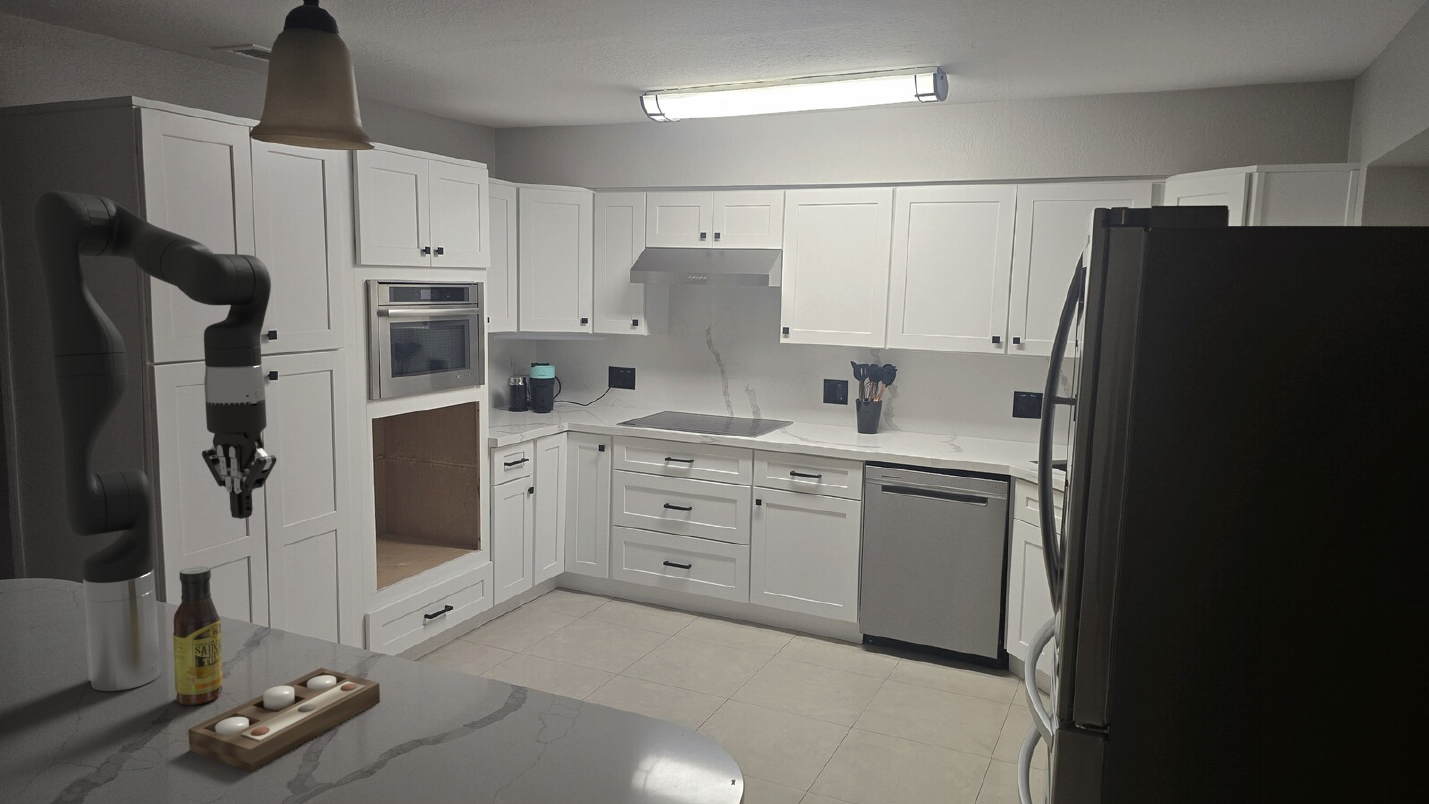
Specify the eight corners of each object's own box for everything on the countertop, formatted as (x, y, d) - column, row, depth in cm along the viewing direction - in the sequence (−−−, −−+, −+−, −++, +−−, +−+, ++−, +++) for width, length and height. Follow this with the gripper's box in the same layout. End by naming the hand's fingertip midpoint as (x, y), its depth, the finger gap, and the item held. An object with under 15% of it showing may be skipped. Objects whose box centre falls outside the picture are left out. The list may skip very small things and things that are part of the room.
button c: (209, 740, 123) (208, 726, 123) (235, 728, 127) (235, 714, 127) (229, 747, 122) (228, 733, 121) (256, 734, 125) (255, 720, 125)
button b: (257, 707, 130) (256, 694, 130) (281, 696, 134) (280, 683, 133) (277, 713, 128) (276, 700, 128) (301, 702, 132) (300, 688, 132)
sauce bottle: (202, 709, 135) (194, 578, 132) (165, 704, 136) (157, 575, 133) (234, 690, 141) (227, 565, 138) (198, 686, 142) (191, 562, 140)
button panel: (189, 750, 123) (188, 726, 123) (322, 685, 143) (321, 665, 142) (251, 771, 118) (250, 746, 118) (379, 701, 138) (379, 680, 137)
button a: (301, 696, 137) (301, 683, 137) (323, 685, 140) (322, 673, 140) (321, 701, 135) (320, 688, 135) (342, 690, 139) (341, 678, 139)
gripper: (179, 397, 128) (186, 517, 131) (244, 403, 123) (250, 529, 125) (227, 391, 135) (233, 506, 137) (291, 397, 130) (296, 516, 132)
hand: (242, 517), depth 131 cm, fingers closed
